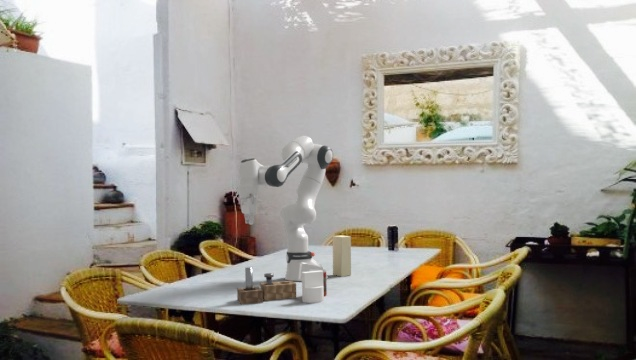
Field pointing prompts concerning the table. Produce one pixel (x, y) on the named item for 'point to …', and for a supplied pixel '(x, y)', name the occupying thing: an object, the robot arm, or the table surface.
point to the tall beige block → (341, 255)
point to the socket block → (279, 290)
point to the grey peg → (249, 278)
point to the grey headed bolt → (269, 278)
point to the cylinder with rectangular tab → (312, 286)
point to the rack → (250, 295)
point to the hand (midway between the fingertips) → (249, 224)
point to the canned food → (323, 279)
